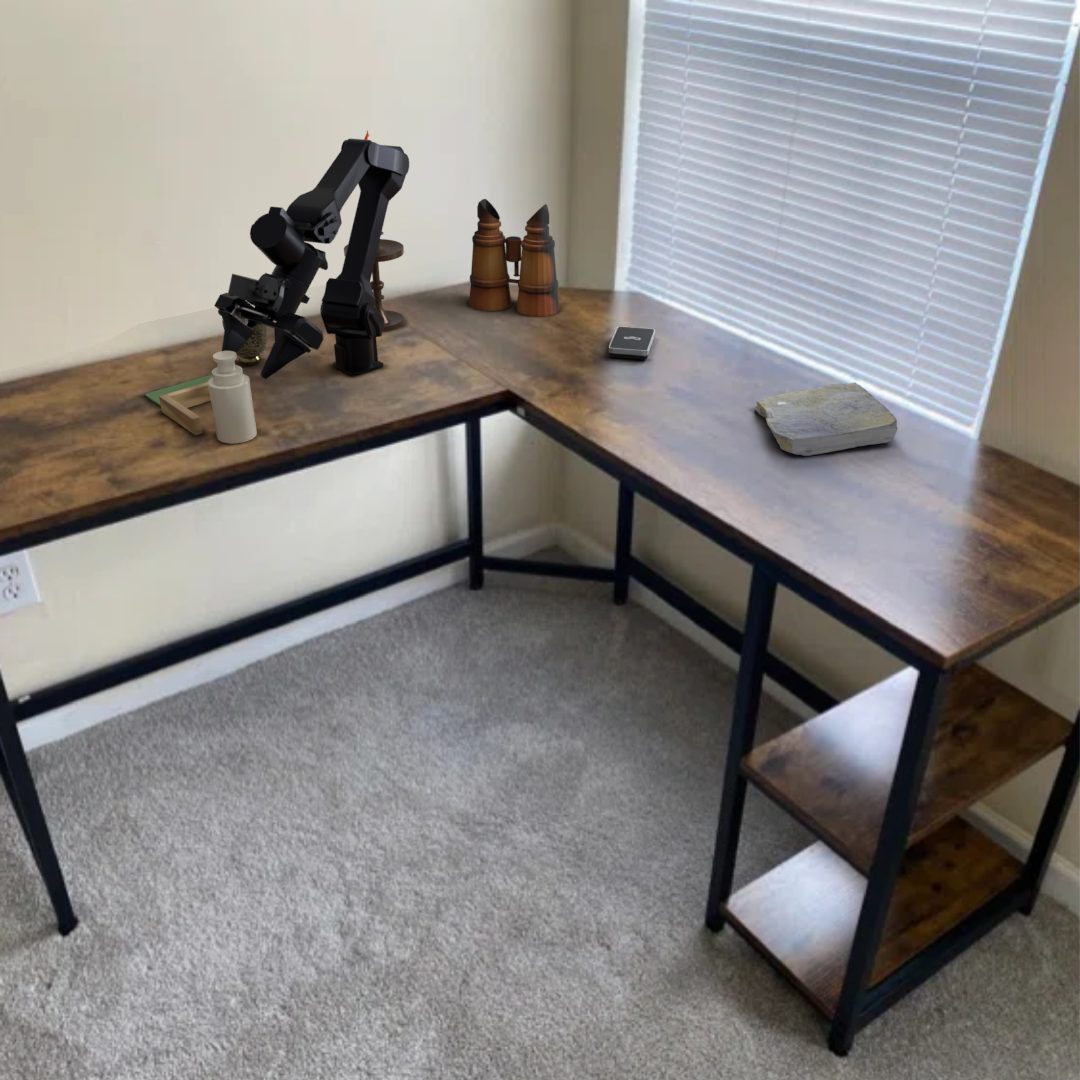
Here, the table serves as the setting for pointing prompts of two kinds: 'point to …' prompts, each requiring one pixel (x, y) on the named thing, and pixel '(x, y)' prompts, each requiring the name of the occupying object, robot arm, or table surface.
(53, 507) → the table surface
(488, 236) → the binoculars
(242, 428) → the lidded jar
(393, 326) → the candlestick
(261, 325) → the cup
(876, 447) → the table surface
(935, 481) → the table surface
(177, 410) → the corner rails
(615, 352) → the external hard drive
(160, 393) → the green cloth
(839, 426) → the grey stone slab
